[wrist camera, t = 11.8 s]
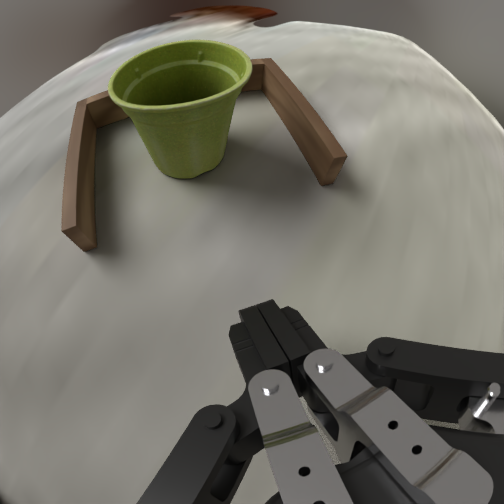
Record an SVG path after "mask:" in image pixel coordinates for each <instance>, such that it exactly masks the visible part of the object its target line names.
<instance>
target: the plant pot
mask: <svg viewBox="0 0 504 504" xmlns="http://www.w3.org/2000/svg"><path fill="white" fill-rule="evenodd" d="M251 73H252V63H251V60H250V58H249V57H248V56H247V55H246V54H245V53H244V52H243V51H242V50H240V49H238V48H236V47H234V46H232V45H229V44H225V43H221V42H216V41H210V40H185V41H178V42H172V43H167V44H163V45H160V46H157V47H154V48H151V49H148V50H146V51H144V52H141V53H139V54H138V55H136V56H134V57H132V58H130V59H129V60H128V61H126V62H125V63H123V64H122V65H121V66H120V67H119V68H118V69H117V70H116V71H115V73H114V74H113V75H112V77H111V78H110V81H109V84H108V93H109V95H110V97H111V99H112V101H113V102H114V103H115V104H117V105H118V106H120V107H122V109H123V111H124V112H125V113H126V114H127V115H128V116H129V117H130V118H131V119H132V121H133V123H134V125H135V127H136V129H137V131H138V133H139V135H140V136H141V138H142V140H143V142H144V144H145V146H146V148H147V150H148V152H149V154H150V155H151V157H152V159H153V161H154V163H155V165H156V166H157V167H158V169H159V170H160V171H161V172H163V173H164V174H166V175H168V176H171V177H174V178H194V177H196V176H198V175H200V174H202V173H204V172H206V171H209V170H212V169H214V168H215V167H216V166H217V165H218V164H219V163H220V162H221V160H222V158H223V156H224V152H225V148H226V143H227V138H228V132H229V128H230V123H231V119H232V115H233V110H234V106H235V102H236V99H237V97H238V96H239V94H240V92H241V89H242V87H243V86H244V85H245V84H246V83H247V82H248V80H249V78H250V76H251Z"/></svg>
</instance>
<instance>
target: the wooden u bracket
mask: <svg viewBox="0 0 504 504" xmlns="http://www.w3.org/2000/svg"><path fill="white" fill-rule="evenodd" d="M251 63H252V73H251V76H250V78H249V80H248V82H247V83H246V84H245V85H244V86H243V87H242V89H241V92H244V91H251V90H260V89H261V90H262V91H263V93H264V94H265V95H266V97H267V98H268V100H269V101H270V103H271V104H272V106H273V107H274V109H275V110H276V112H277V113H278V115H279V116H280V118H281V120H282V121H283V123H284V124H285V126H286V127H287V129H288V131H289V132H290V134H291V135H292V137H293V139H294V140H295V142H296V144H297V145H298V147H299V149H300V150H301V152H302V154H303V155H304V157H305V159H306V160H307V162H308V164H309V166H310V167H311V169H312V171H313V173H314V174H315V176H316V178H317V180H318V181H319V183H320V185H321V186H323V185H328V184H333V183H334V181H335V179H336V177H337V175H338V173H339V171H340V169H341V168H342V166H343V164H344V162H345V160H346V158H347V155H346V153H345V152H344V150H343V149H342V147H341V146H340V144H339V143H338V141H337V140H336V139H335V137H334V136H333V134H332V133H331V131H330V130H329V129H328V127H327V126H326V125H325V123H324V122H323V120H322V119H321V118H320V116H319V115H318V114H317V112H316V111H315V110H314V109H313V107H312V106H311V105H310V103H309V102H308V101H307V100H306V98H305V97H304V96H303V95H302V93H301V92H300V91H299V90H298V89H297V87H296V86H295V85H294V84H293V83H292V81H291V80H290V79H289V78H288V77H287V76H286V74H285V73H284V72H283V71H282V70H281V69H280V68H279V66H278V65H277V64H276V63H275V62H274V61H273V60H272V59H271V58H266V59H252V60H251ZM128 117H129V116H128V115H127V114H126V113H125V112H124V111H123V109H122V107H120V106H118V105H117V104H115V103H114V102H113V101H112V99H111V97H110V95H109V93H108V90H107V91H105V92H102V93H99V94H96V95H94V96H91V97H89V98H86V99H84V100H81V101H79V102H77V105H76V109H75V114H74V118H73V123H72V128H71V134H70V139H69V146H68V152H67V159H66V167H65V176H64V187H63V201H62V232H63V233H64V234H65V235H66V236H67V237H68V238H69V239H71V240H72V241H73V242H74V243H75V244H76V245H77V246H78V247H79V248H80V249H82V250H83V251H84V252H85V251H88V250H91V249H94V248H97V238H96V223H95V195H94V176H95V148H96V133H97V128H100V127H102V126H105V125H108V124H111V123H113V122H116V121H119V120H122V119H125V118H128Z"/></svg>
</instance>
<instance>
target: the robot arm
mask: <svg viewBox="0 0 504 504" xmlns="http://www.w3.org/2000/svg"><path fill="white" fill-rule="evenodd" d="M239 315H240V319H241V323H238V324H235V325H232V326H231V327H230V331H229V338H230V341H231V344H232V347H233V350H234V353H235V356H236V359H237V361H238V364H239V367H240V369H241V372H242V374H243V377H244V379H245V382H246V388H245V391H244V393H243V394H242V396H241V397H240V398H239V399H238V400H236V401H235V402H233V403H232V404H230V405H229V406H227V407H226V406H223V405H209V406H206V407H204V408H202V409H200V410H199V411H198V412H197V413H196V414H195V415H194V417H193V419H192V420H191V422H190V423H189V425H188V427H187V428H186V430H185V431H184V433H183V434H182V436H181V438H180V439H179V441H178V442H177V444H176V445H175V447H174V449H173V450H172V452H171V453H170V455H169V456H168V458H167V459H166V461H165V462H164V464H163V465H162V467H161V469H160V470H159V472H158V473H157V475H156V476H155V478H154V479H153V481H152V482H151V483H150V485H149V486H148V488H147V489H146V491H145V492H144V494H143V495H142V497H141V498H140V500H139V501H138V502H137V504H230V503H231V501H232V499H233V497H234V495H235V493H236V491H237V489H238V487H239V485H240V483H241V481H242V479H243V477H244V475H245V473H246V471H247V468H248V466H249V464H250V462H251V460H252V457H253V455H255V454H256V453H258V452H259V451H260V450H262V449H263V448H265V450H266V453H267V456H268V459H269V462H270V465H271V468H272V472H273V475H274V478H275V481H276V483H277V486H278V489H279V492H277V493H276V494H275V495H273V496H272V497H271V498H270V499H269V500H268V501H267V502H266V503H265V504H504V354H503V353H493V352H483V351H475V350H467V349H459V348H452V347H445V346H438V345H432V344H425V343H419V342H413V341H407V340H401V339H396V338H390V337H381V338H378V339H375V340H374V341H372V342H371V343H370V344H369V345H368V347H367V351H365V352H360V353H355V354H349V355H342V354H340V353H339V352H338V351H336V350H333V349H328V348H327V347H326V346H325V344H324V343H323V342H322V341H321V339H320V338H319V337H318V336H317V334H316V333H315V332H314V331H313V329H312V328H311V327H310V326H309V325H308V323H307V322H306V321H305V320H304V318H303V317H302V316H301V314H300V313H299V312H298V311H297V310H295V309H293V308H291V307H289V306H287V307H284V308H281V309H280V308H279V307H278V305H277V304H276V303H275V301H274V300H273V299H271V300H269V301H266V302H263V303H260V304H257V305H256V306H255V305H254V306H251V307H248V308H245V309H242V310H239ZM302 396H303V397H304V399H305V400H306V402H307V409H308V411H309V413H310V415H311V416H312V417H313V419H314V420H315V421H316V423H317V424H318V426H319V427H320V428H321V430H322V431H323V432H324V434H325V435H326V436H327V438H328V439H329V441H330V442H331V443H332V445H333V446H334V448H335V451H336V454H337V456H338V458H339V460H340V461H341V463H342V464H338V465H334V463H333V461H332V459H331V457H330V455H329V453H328V451H327V448H326V446H325V444H324V442H323V440H322V438H321V436H320V434H319V432H318V430H317V428H316V427H315V426H314V425H312V424H311V423H310V421H309V419H308V416H307V414H306V412H305V410H304V408H303V406H302V403H301V401H300V399H299V397H302ZM421 418H422V419H428V420H435V421H442V422H449V423H458V424H459V426H460V427H459V430H458V429H451V428H445V427H439V426H433V425H427V424H426V423H425V422H424V421H423V420H422V419H421Z"/></svg>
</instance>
